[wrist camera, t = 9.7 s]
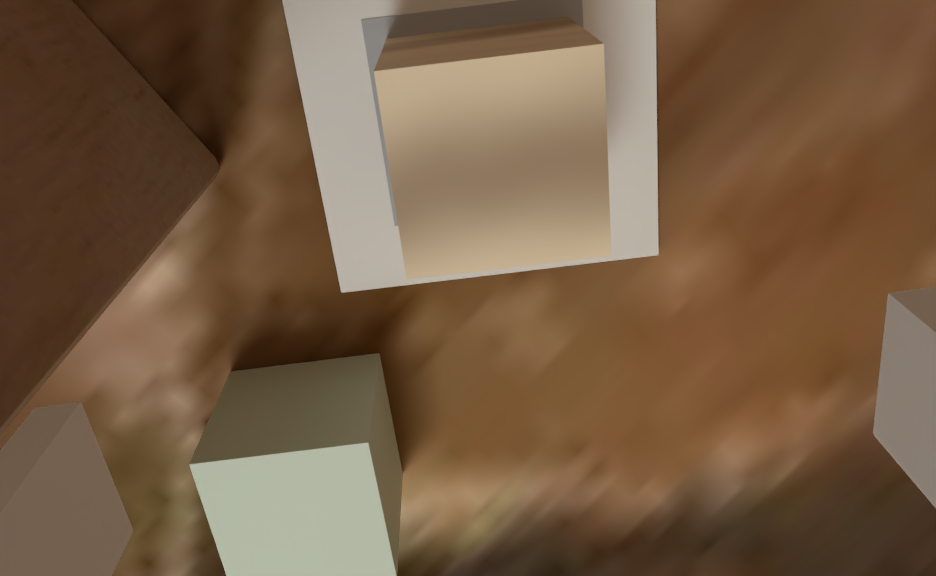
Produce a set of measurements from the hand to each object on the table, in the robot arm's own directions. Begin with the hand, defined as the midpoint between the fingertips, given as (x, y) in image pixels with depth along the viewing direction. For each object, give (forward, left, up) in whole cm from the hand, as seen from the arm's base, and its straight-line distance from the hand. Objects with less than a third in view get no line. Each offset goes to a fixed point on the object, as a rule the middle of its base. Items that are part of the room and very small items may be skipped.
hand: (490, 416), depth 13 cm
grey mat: (-1, +1, -17) cm, 17 cm away
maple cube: (-1, +1, -16) cm, 16 cm away
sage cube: (+11, -7, -17) cm, 21 cm away
